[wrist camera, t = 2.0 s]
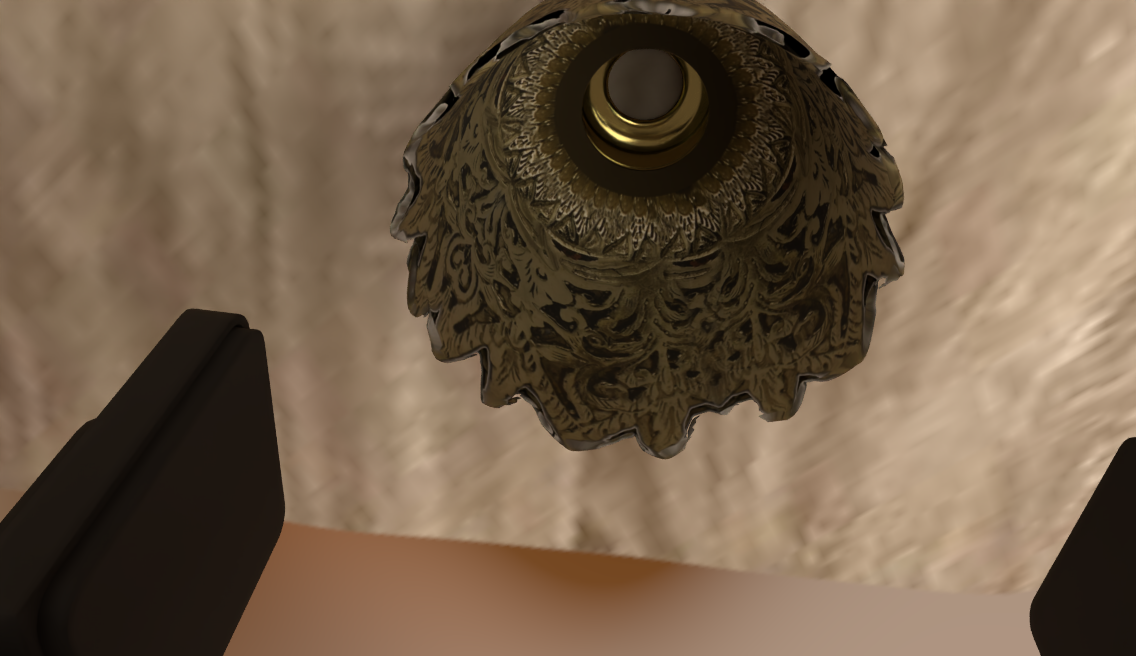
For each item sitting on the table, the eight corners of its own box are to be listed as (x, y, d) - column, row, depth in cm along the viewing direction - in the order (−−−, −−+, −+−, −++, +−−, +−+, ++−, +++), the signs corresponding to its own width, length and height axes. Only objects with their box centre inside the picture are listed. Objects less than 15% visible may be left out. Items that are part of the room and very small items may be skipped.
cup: (759, -173, 17) (828, -97, 10) (859, 167, 20) (959, 384, 14) (415, -8, 19) (289, 141, 12) (561, 272, 23) (523, 503, 16)
